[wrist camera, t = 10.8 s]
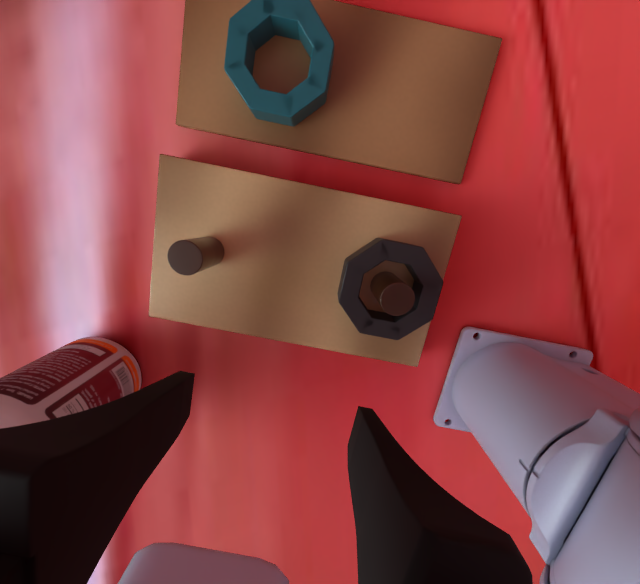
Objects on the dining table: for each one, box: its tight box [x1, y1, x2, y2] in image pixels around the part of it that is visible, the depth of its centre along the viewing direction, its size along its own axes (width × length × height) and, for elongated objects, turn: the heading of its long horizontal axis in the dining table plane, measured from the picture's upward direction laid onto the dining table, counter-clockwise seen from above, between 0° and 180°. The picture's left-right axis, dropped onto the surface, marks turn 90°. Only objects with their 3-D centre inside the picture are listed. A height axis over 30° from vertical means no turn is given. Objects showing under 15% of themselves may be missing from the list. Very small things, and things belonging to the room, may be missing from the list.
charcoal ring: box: [337, 238, 443, 340], centre depth 18 cm, size 6×6×2 cm
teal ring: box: [224, 0, 334, 127], centre depth 17 cm, size 6×6×2 cm
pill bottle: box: [0, 337, 142, 429], centre depth 18 cm, size 6×6×11 cm
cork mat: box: [176, 0, 502, 184], centre depth 18 cm, size 18×8×1 cm, turn 79°
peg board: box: [149, 154, 462, 367], centre depth 18 cm, size 18×10×6 cm, turn 79°
